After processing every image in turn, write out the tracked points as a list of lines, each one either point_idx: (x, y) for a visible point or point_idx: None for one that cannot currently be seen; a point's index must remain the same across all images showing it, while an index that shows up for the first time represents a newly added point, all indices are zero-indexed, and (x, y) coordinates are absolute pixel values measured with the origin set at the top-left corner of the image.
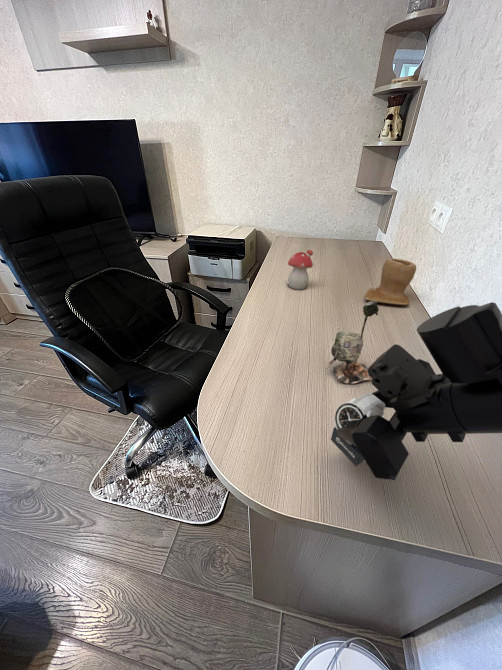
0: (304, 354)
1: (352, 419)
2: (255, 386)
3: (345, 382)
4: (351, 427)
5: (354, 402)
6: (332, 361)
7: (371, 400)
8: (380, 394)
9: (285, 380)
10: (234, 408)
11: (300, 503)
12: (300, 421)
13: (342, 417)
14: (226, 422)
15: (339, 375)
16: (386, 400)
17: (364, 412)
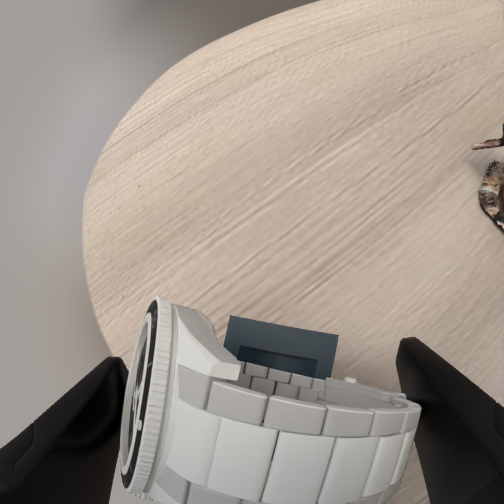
0: (456, 94)
1: (133, 410)
2: (289, 80)
3: (488, 209)
4: (39, 434)
5: (183, 380)
6: (494, 142)
7: (286, 483)
8: (453, 430)
9: (365, 106)
10: (205, 98)
11: (133, 346)
12: (301, 208)
13: (145, 350)
14: (167, 116)
15: (490, 186)
16: (443, 463)
17: (159, 474)
